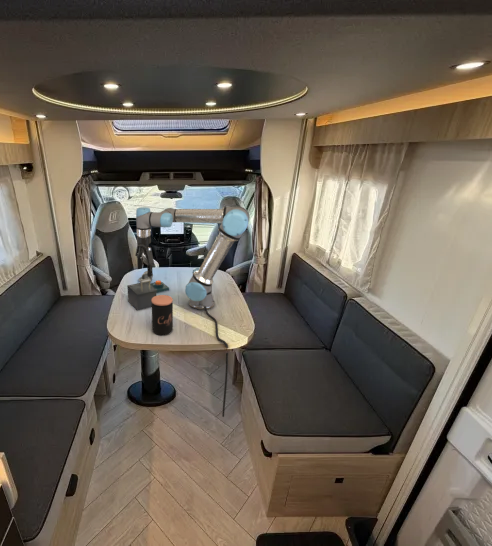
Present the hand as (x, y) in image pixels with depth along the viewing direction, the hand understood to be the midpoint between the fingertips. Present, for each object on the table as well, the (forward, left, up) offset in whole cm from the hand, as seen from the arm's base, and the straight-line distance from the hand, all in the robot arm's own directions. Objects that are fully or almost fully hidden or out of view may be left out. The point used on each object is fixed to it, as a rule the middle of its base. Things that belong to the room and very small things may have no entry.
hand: (144, 272), depth 177 cm
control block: (+21, -19, -22) cm, 36 cm away
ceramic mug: (+37, -17, -23) cm, 46 cm away
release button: (+21, -19, -19) cm, 34 cm away
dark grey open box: (+6, 0, -22) cm, 23 cm away
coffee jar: (-28, +4, -23) cm, 36 cm away
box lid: (+5, 0, -12) cm, 13 cm away
